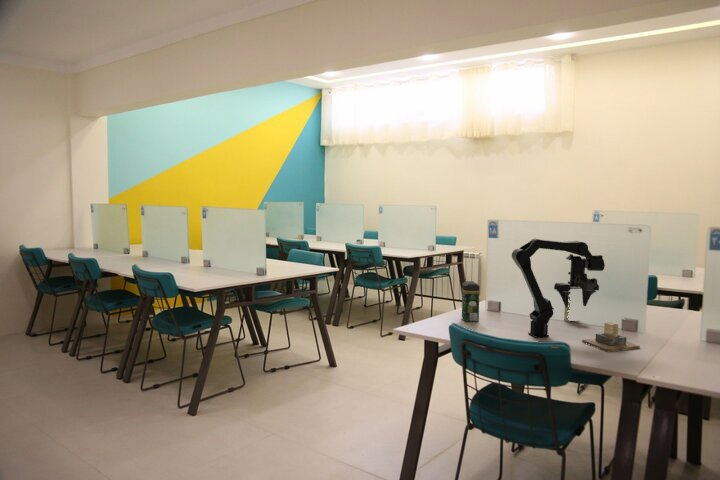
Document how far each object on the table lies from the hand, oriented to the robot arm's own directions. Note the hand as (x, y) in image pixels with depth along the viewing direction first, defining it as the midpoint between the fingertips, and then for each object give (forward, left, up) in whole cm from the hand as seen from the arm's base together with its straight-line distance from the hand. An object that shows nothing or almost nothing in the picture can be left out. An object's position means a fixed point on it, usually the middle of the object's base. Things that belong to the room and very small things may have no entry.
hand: (575, 306), depth 232 cm
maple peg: (+4, -16, -12) cm, 21 cm away
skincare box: (+17, +23, -13) cm, 31 cm away
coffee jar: (-29, +39, -13) cm, 50 cm away
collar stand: (+4, -16, -13) cm, 21 cm away
